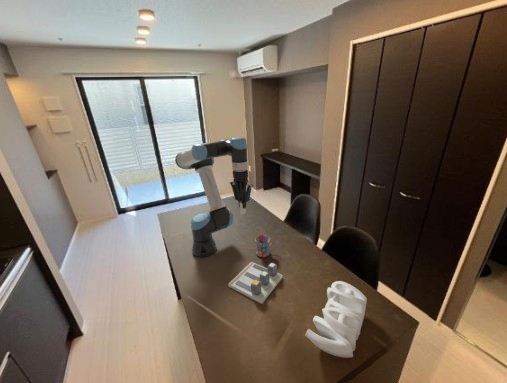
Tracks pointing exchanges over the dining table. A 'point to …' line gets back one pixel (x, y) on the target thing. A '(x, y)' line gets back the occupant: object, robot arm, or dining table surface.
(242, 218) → the dining table surface
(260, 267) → the panel
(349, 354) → the wavy white extrusion
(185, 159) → the robot arm
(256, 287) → the block
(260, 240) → the mug
